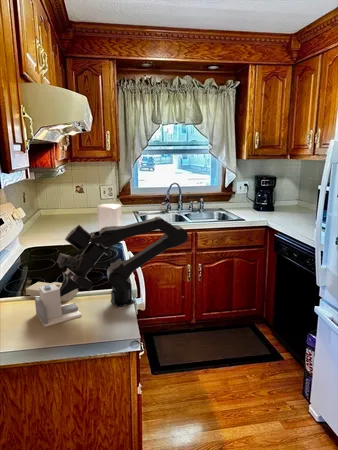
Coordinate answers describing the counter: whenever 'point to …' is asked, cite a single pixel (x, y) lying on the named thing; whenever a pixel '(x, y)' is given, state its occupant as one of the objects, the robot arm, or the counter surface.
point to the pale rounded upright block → (109, 215)
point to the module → (51, 300)
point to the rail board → (67, 311)
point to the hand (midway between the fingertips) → (58, 296)
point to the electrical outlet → (35, 290)
